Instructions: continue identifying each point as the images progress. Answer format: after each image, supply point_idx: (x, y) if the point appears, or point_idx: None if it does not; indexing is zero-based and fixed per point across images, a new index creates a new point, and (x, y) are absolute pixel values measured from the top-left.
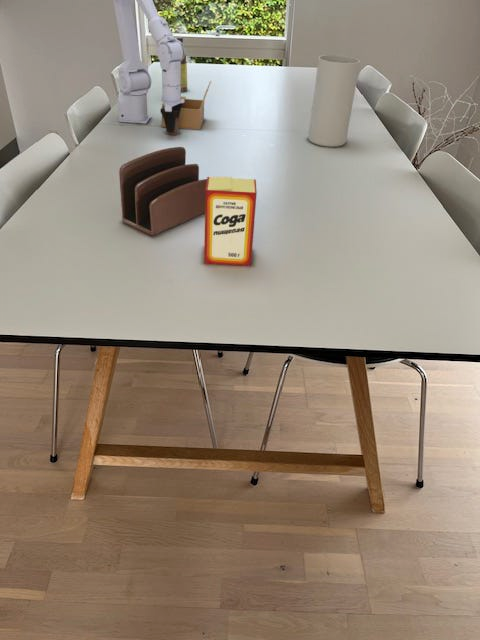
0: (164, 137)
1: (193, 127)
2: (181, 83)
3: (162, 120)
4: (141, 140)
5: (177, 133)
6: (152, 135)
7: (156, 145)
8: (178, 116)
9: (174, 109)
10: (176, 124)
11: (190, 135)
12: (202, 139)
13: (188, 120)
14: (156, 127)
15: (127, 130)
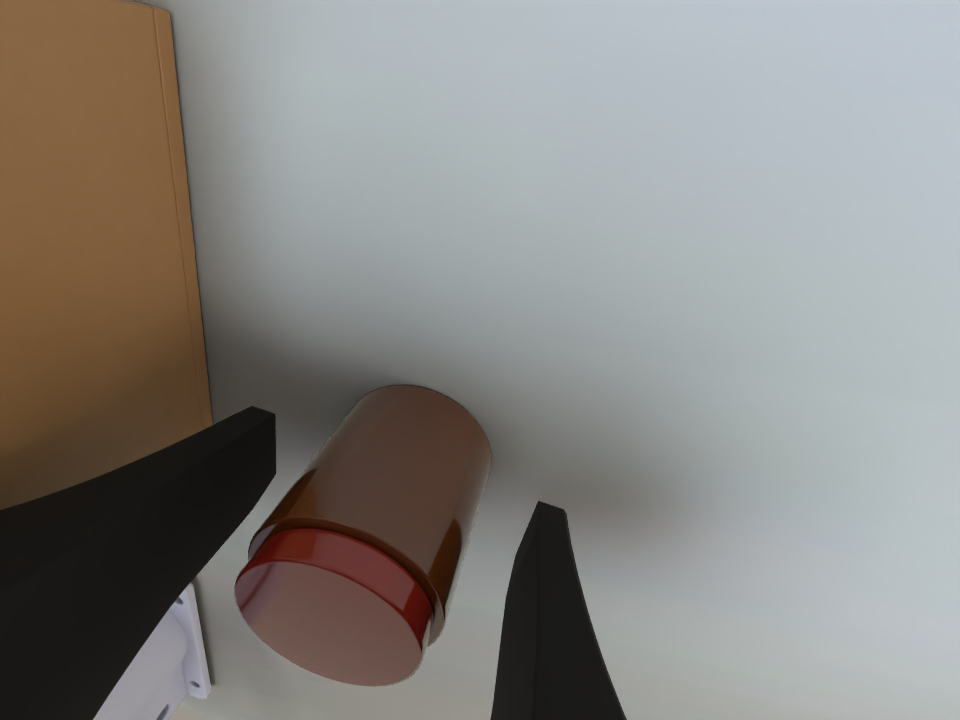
0: (573, 547)
1: (163, 140)
2: None
3: None
4: (644, 708)
5: (456, 410)
6: (500, 613)
7: (851, 668)
8: (161, 488)
9: (61, 647)
10: (431, 515)
11: (502, 235)
12: (782, 14)
13: (81, 254)
14: (252, 531)
15: (378, 700)
